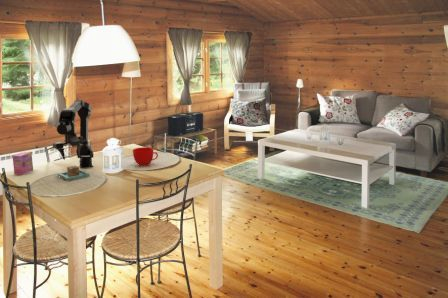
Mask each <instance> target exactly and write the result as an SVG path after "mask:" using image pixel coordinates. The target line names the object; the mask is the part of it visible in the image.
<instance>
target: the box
mask: <svg viewBox="0 0 448 298" xmlns="http://www.w3.org/2000/svg"><path fill="white" fill-rule="evenodd" d="M32 153H33V152H32V151H21V152H20V153H16V154H13V155H12V163H13V164H12V166H13V172H14V176H15V175H16V176H24V175H26V174H28V173H30V172H32V171H34V165H33V154H32Z"/></svg>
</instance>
